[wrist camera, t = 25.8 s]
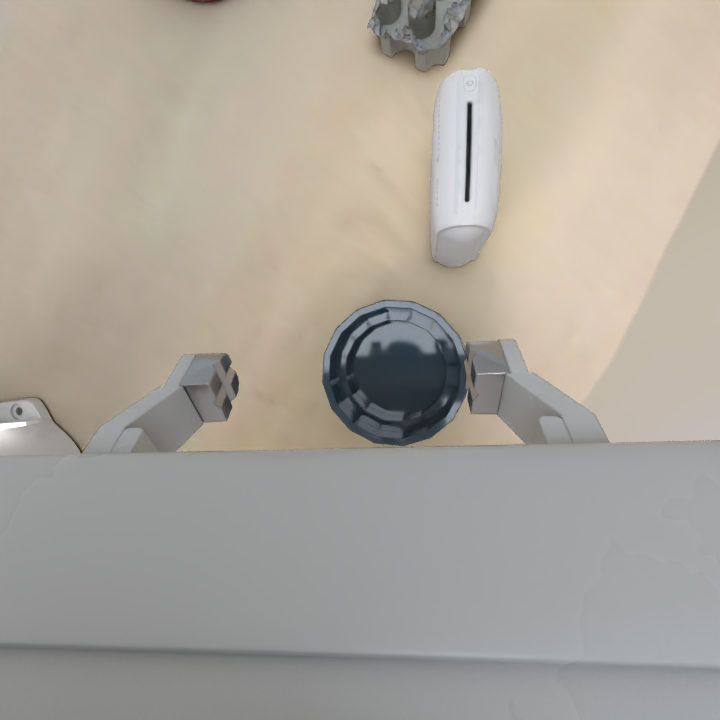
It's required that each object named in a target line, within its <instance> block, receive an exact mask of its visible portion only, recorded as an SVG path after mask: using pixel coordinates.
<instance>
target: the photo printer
mask: <svg viewBox="0 0 720 720" xmlns="http://www.w3.org/2000/svg"><path fill="white" fill-rule="evenodd" d="M501 154H502V116H501V104H500V96H499V90H498V86H497V83H496V80H495V78H494V76H493V75H492V73H490V72H489V71H488V70H486V69H484V68H481V67H478V68H475V69H472V70H462V69H461V70H458V71H456V72H454V73H452V74H451V75H449V76H448V77H447V78H446V79H445V80H444V81H443V82H442V83H441V85H440V87H439V90H438V93H437V97H436V101H435V107H434V118H433V136H432V159H431V180H430V237H431V251H432V256H433V260H434V262H439V263H440V264H442V265H443V266H446V267H451V268H456V267H461V266H463V265H465V264H467V263H468V262H469V261H474V260H475V259H476V258H477V256H478V254H479V252H480V250H481V249H482V247H483V245H484V243H485V242H486V240H487V238H488V237H489V235H490V233H491V231H492V229H493V225H494V221H495V218H496V214H497V208H498V198H499V189H500V175H501Z"/></svg>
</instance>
